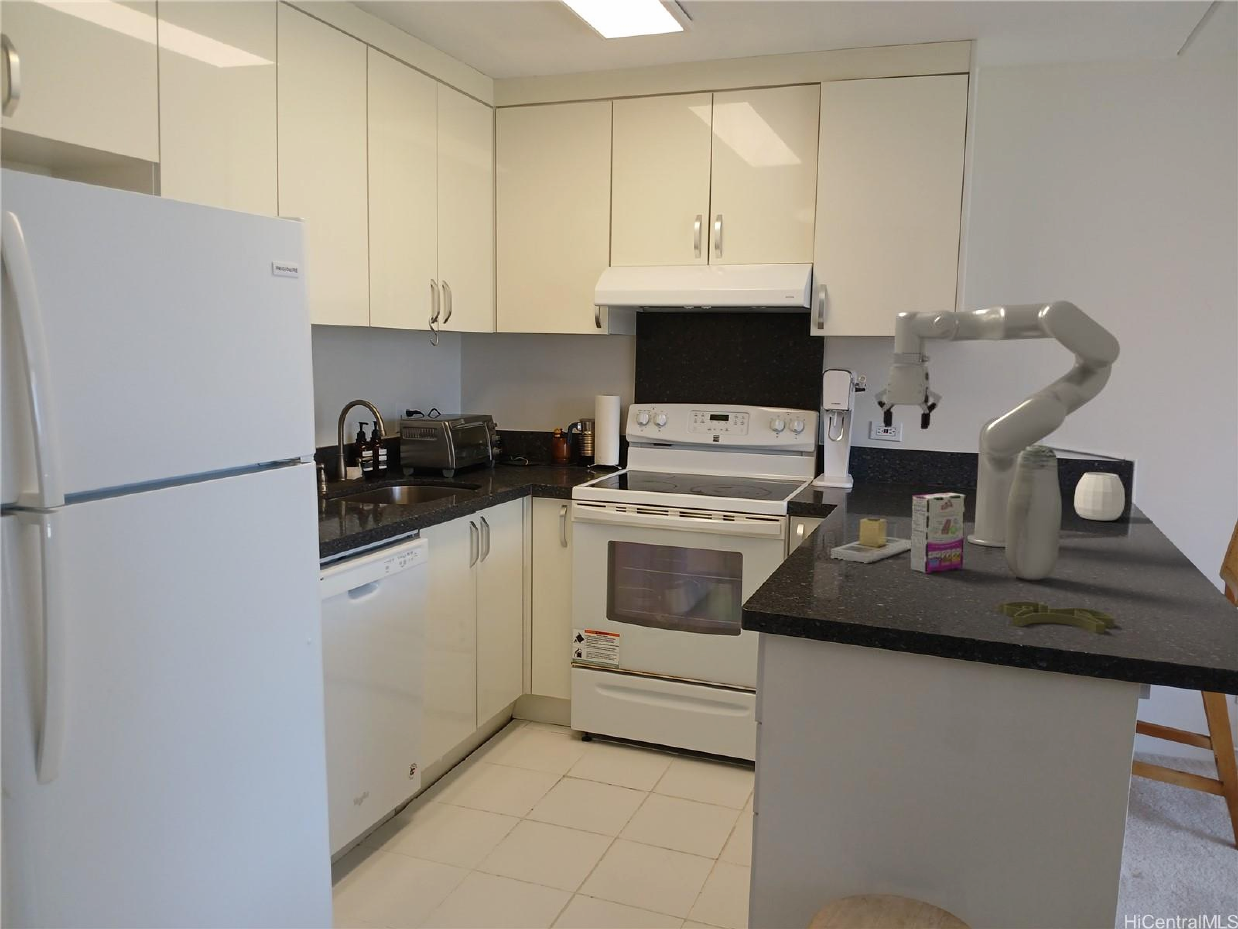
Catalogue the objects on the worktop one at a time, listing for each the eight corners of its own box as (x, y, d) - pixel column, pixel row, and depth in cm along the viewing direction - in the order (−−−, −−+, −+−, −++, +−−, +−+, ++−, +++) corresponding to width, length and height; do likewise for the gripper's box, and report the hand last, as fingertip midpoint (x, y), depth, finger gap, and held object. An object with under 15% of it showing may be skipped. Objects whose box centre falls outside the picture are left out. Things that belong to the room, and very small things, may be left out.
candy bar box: (945, 565, 203) (949, 492, 202) (963, 569, 199) (967, 494, 197) (908, 569, 198) (911, 494, 196) (925, 574, 194) (929, 497, 192)
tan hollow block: (885, 553, 216) (886, 518, 215) (877, 556, 212) (878, 520, 211) (867, 550, 219) (868, 515, 218) (858, 553, 215) (860, 518, 214)
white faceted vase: (1075, 521, 267) (1078, 475, 265) (1071, 514, 279) (1074, 470, 277) (1126, 524, 262) (1129, 477, 260) (1120, 517, 274) (1123, 473, 272)
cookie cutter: (1001, 627, 156) (1001, 615, 156) (995, 609, 167) (996, 598, 167) (1119, 638, 150) (1119, 626, 150) (1104, 619, 162) (1105, 608, 162)
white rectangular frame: (910, 548, 222) (911, 540, 221) (867, 563, 203) (867, 554, 203) (875, 543, 227) (876, 535, 227) (830, 557, 209) (830, 549, 209)
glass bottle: (1053, 586, 184) (1062, 448, 181) (999, 580, 189) (1007, 445, 186) (1059, 577, 192) (1068, 444, 189) (1007, 571, 198) (1015, 442, 195)
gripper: (948, 361, 230) (944, 429, 232) (883, 360, 241) (880, 425, 243) (937, 360, 225) (933, 430, 226) (870, 360, 236) (868, 426, 237)
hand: (906, 427), depth 235 cm, fingers open, 9 cm apart
